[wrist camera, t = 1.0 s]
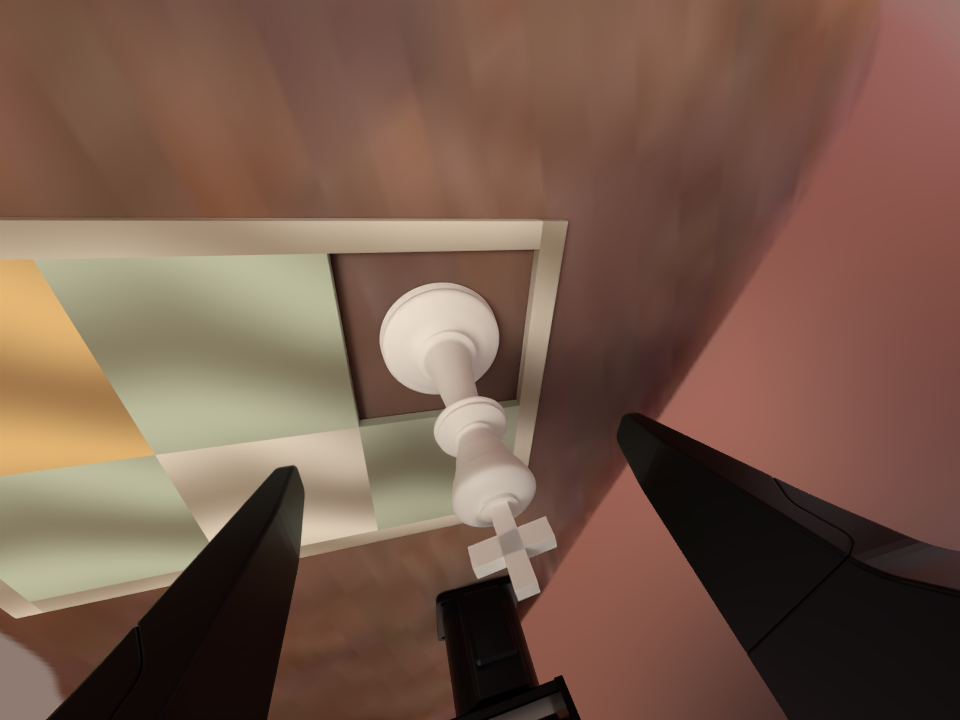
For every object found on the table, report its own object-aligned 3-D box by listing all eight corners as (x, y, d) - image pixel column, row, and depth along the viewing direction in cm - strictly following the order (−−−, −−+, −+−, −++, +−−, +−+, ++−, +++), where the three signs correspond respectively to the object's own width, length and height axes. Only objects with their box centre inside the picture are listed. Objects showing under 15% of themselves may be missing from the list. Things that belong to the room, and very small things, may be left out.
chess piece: (359, 305, 13) (330, 586, 5) (482, 265, 13) (659, 455, 5) (404, 401, 16) (437, 683, 7) (505, 365, 16) (644, 595, 8)
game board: (518, 504, 22) (520, 510, 21) (25, 606, 16) (15, 618, 16) (562, 218, 13) (568, 221, 13) (-491, 215, 7) (-544, 219, 7)
